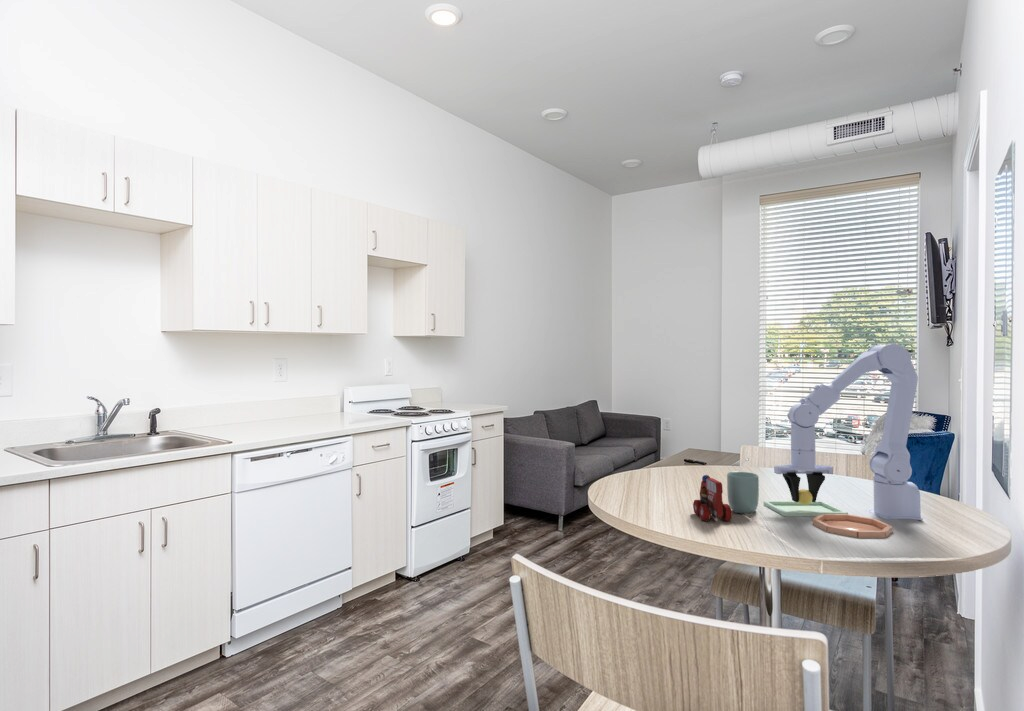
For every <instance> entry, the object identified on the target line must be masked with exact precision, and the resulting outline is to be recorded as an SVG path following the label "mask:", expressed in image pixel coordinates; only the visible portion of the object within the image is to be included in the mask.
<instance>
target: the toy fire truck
mask: <svg viewBox="0 0 1024 711" xmlns="http://www.w3.org/2000/svg"><path fill="white" fill-rule="evenodd" d="M723 492H724V491H723V484H722V482H721V481H719V480H717V479H715V478H713V477H711V476H709V475H708V474H705V475H703V476H702V477H701V483H700V489H699V499H694V500H693V503H692V507H693V512H694V513H693V514H695V516H697V517H698V516H699V518H700V519H701V521H703V522H709V521H710V519H711V517H712V518H721V520H722V521H724V522H729V521H731V519H732V517H733V514H732V513H733V512H732V509H731V508H730V506H729V503H728V504H727V503H724V502H723Z"/></svg>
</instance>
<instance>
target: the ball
mask: <svg viewBox="0 0 1024 711" xmlns="http://www.w3.org/2000/svg"><path fill="white" fill-rule="evenodd" d="M812 499H813V497H812V494H811V493H810V492H809V491H808V489H806V488H805V489H803V488H802V489H799V503H800V504H803V505H807V504H810V503H811V502H812Z"/></svg>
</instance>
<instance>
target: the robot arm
mask: <svg viewBox="0 0 1024 711" xmlns="http://www.w3.org/2000/svg"><path fill="white" fill-rule="evenodd" d="M875 371H879V372H880V373H881V374H883V375H884V376H885V377H886V378H887V379H888V380H889V381H890V382H891V383H890V384H891V385H890V390H889V395H888V402H887V408H886V412H885V418H884V424H883V429H882V435H881V440H880V442H879V443H878V444H877V446H876V447H875V451H874V454H873V455H872V456H871V458H870V459H869V462H868V464H869V465H868V467H869V468H870V471H871V472H872V473H873V474H874V476H873V478H872V482H873V509H867V510H866V511H867V512H869V513H871V514H874V515H875V516H878V517H881V518H883V519H891V520H893V519H900V520H901V519H903V520H904V519H907V520H909V519H911V520H912V519H914V520H915V521H924V518H923V517H921V516H922V514H921V493H920V490H919V487H918V486H917V484H915V482H914V483H913V482H912V481H908V480H910V478H911V476H912V473H913V469H912V466H911V463H910V462H911V454H910V452H909V450H908V448H907V443H908V437H909V432H910V426H911V420H912V414H913V410H914V403H915V397H916V393H917V386H918V380H919V378H918V374H917V372H916V369H915V367H914V364H913V362H912V354H911V353H910V352H909V351H908V350H907V349H906V348H904V347H903V346H902V345H900V344H898V343H888V344H876V345H872V346H870V347H869V348H868V349H867V350H866V351H864V352H862V353H860V355H859V356H857V357H856V358H855V359H854V360H853V361H852V362H851V363H850V364H849V365H848V366H847V367H846V368H845V369H843V370H842V371H841V372H840V373H839V374H838V375H837V376H835V378H834V379H832V381H830V382H829V383H823V382H822V383H821V384H815V385H814V386H813V387H812V389H813V390H812V391H811V392H810V393H809V394H808V395H807V396H805V397H804V398H803V397H802V398H800V399H799V402H800V403H797V404H794V405H792V406H791V407H790V409H789V412H788V413H787V418H788V420H789V422H790V452H791V453H790V455H791V457H790V462H791V464H783V465H782V464H781V465H774V466H773V467H774V468H773V469H774V470H773V471H774V472H773V473H775V474H776V475H782V478H783V479H784V480H785V482H786V484H787V487H788V490H789V493H790V496H791V501H795V502H799V490H800V482H801V479H802V478H801V477H800V476H799V475H800V474H801V475H803V474H805V475H806V479H807V485H808V489H807V490H808V491H809V492H810V493H811V494H812V497H813V499H812V502H816V501H817V497H818V494H819V491H820V488H821V486H822V485H823V483H824V481H825V480H826V476H825V474H826V475H833V474H834V467H833V466H831V465H822V464H821V465H818V464H816V463H817V460H816V456H817V455H816V431H815V430H816V428H815V425H817V423H818V421H819V417H820V416H822V415H823V414H824V413H825V412H827V411H828V410H829V409H830V408H831V407H833V405H834V404H836V403H838V401H840V398H841V392H842V391H844V390H845V389H847V388H848V387H849V386H850V385H852V384H853V383H854V382H855V381H857V380H858V379H859V378H860V377H862V376H863V375H865V374H867V373H870V372H875ZM798 474H799V475H798ZM866 511H865V512H866Z"/></svg>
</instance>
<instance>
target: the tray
mask: <svg viewBox="0 0 1024 711" xmlns="http://www.w3.org/2000/svg"><path fill="white" fill-rule="evenodd" d="M763 507H767V508H769V509H771V510H772V511H775V513H778V514H780V515H781V516H783V517H817V516H818V515H820V514H846V515H847V514H849V512H848V511H845V510H844V509H841V508H838V507H836V506H834V505H832V504H830V503H827V502H826V501H823V500H816V502H811V503H810V504H807V505H803V504H800V503H799V502H795V501H793V500H763Z"/></svg>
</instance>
